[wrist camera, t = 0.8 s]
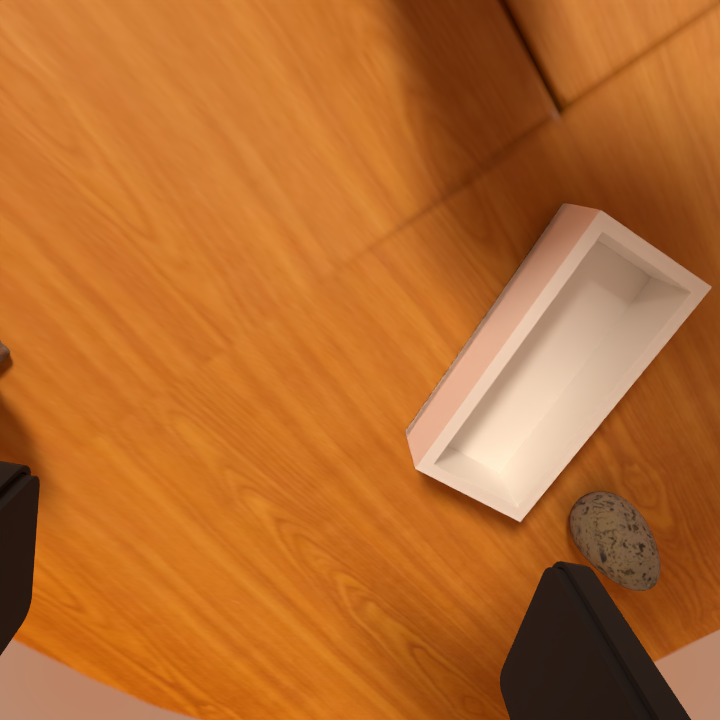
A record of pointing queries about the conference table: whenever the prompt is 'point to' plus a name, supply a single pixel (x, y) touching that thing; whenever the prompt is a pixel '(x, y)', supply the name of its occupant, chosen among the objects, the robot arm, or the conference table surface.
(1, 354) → the brown carved statuette
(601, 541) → the decorative egg
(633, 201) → the conference table surface
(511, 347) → the open rectangular box
